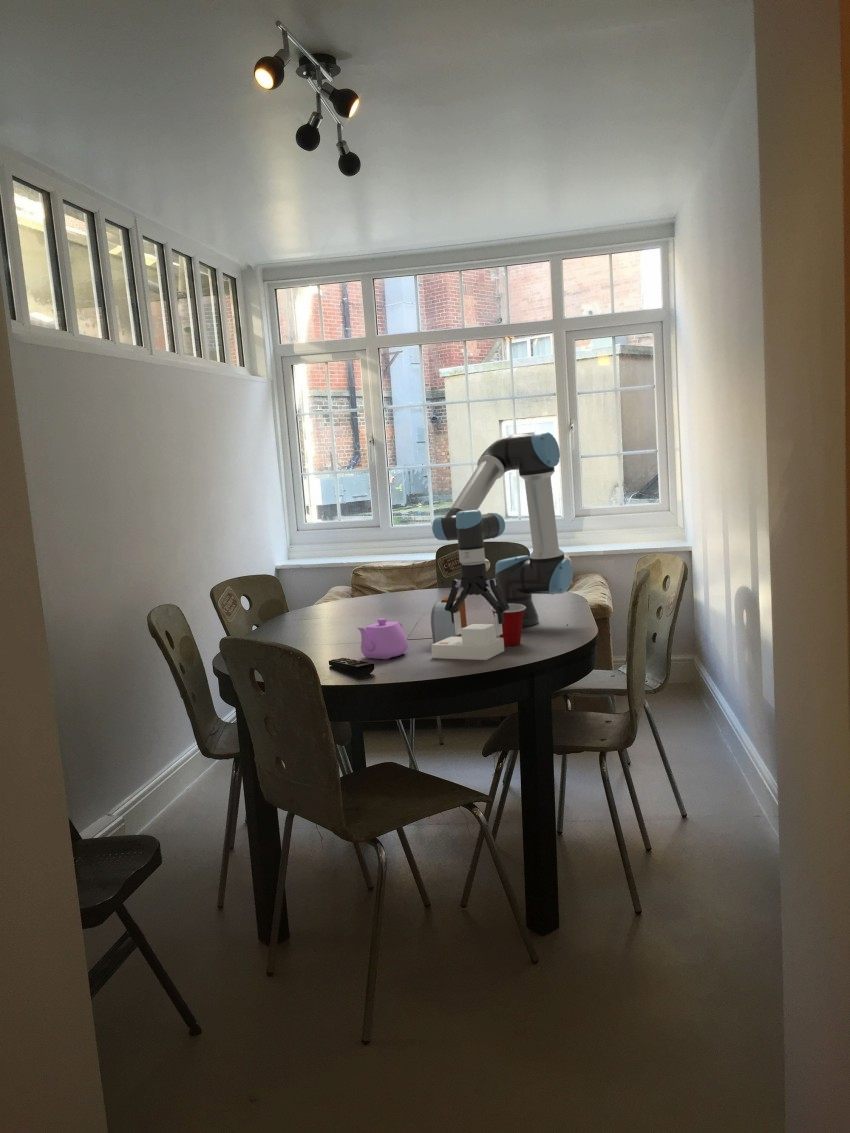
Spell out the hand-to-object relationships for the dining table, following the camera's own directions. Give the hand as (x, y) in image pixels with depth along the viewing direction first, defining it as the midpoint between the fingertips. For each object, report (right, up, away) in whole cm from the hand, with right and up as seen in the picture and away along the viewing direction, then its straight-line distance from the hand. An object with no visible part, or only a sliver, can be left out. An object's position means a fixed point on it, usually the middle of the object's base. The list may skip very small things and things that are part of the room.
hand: (478, 634), depth 264 cm
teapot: (-29, -8, +10) cm, 31 cm away
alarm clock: (-7, -4, +26) cm, 28 cm away
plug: (0, -5, 0) cm, 5 cm away
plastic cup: (+11, -4, +12) cm, 16 cm away
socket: (-3, -6, +3) cm, 7 cm away
